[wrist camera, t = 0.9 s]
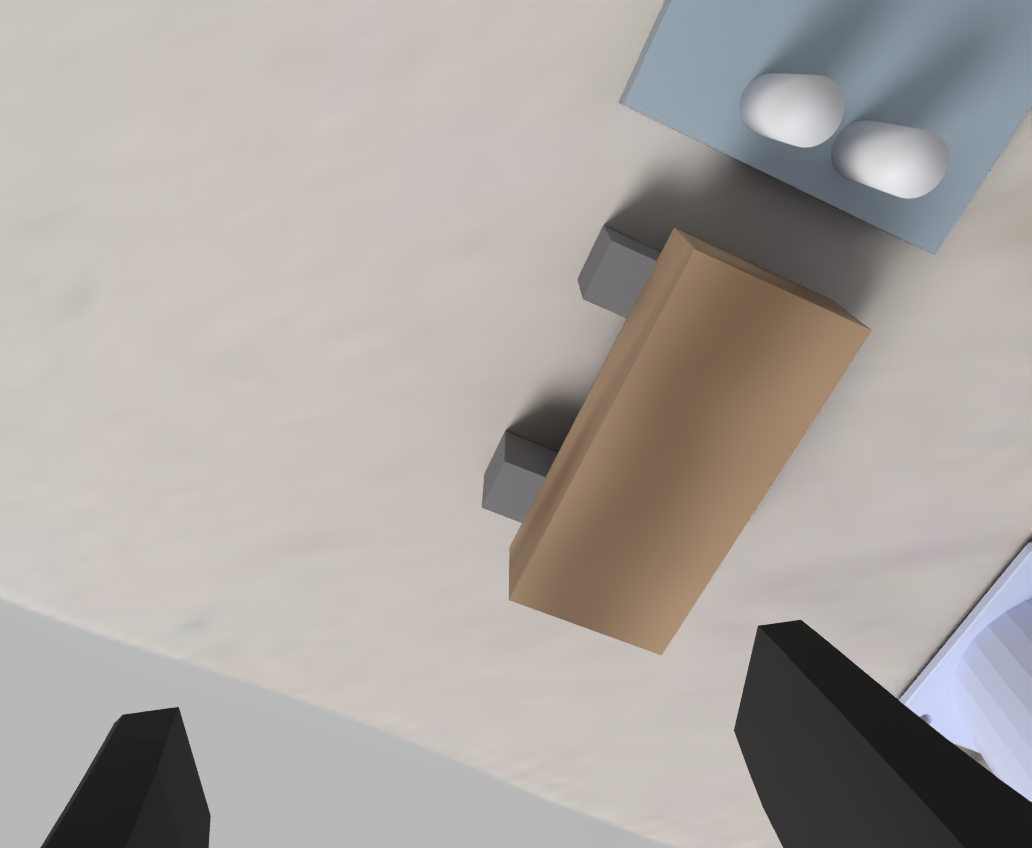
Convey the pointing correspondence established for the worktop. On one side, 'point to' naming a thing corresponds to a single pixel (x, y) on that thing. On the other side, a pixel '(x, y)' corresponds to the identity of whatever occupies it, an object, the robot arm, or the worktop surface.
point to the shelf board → (678, 442)
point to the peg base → (848, 96)
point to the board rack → (604, 282)
